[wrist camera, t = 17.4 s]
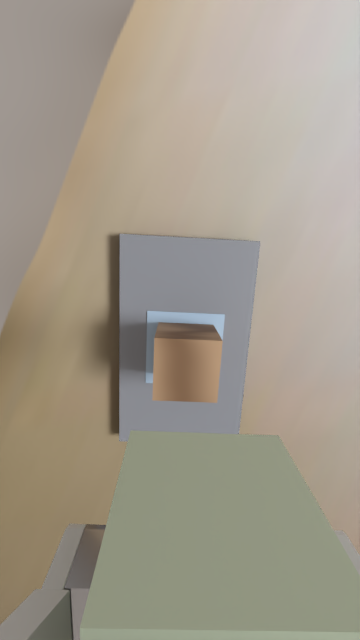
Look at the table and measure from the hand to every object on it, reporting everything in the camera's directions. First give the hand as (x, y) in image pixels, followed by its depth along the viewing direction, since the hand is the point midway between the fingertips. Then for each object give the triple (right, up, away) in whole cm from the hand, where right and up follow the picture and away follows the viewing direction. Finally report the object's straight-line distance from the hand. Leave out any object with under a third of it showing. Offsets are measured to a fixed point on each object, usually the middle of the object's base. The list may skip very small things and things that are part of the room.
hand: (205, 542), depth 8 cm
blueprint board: (0, +4, +18) cm, 19 cm away
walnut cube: (0, +4, +17) cm, 18 cm away
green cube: (0, 0, +2) cm, 2 cm away
